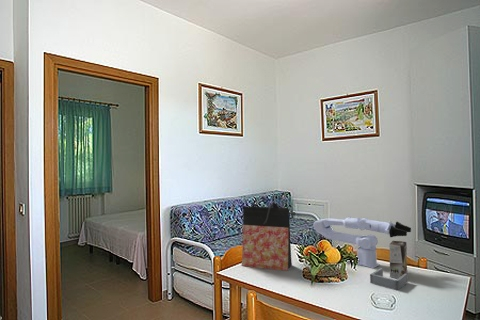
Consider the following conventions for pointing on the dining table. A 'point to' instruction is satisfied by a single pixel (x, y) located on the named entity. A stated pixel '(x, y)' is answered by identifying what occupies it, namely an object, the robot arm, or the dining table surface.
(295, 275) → the dining table surface
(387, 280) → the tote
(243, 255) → the gift bag
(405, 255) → the coffee box
